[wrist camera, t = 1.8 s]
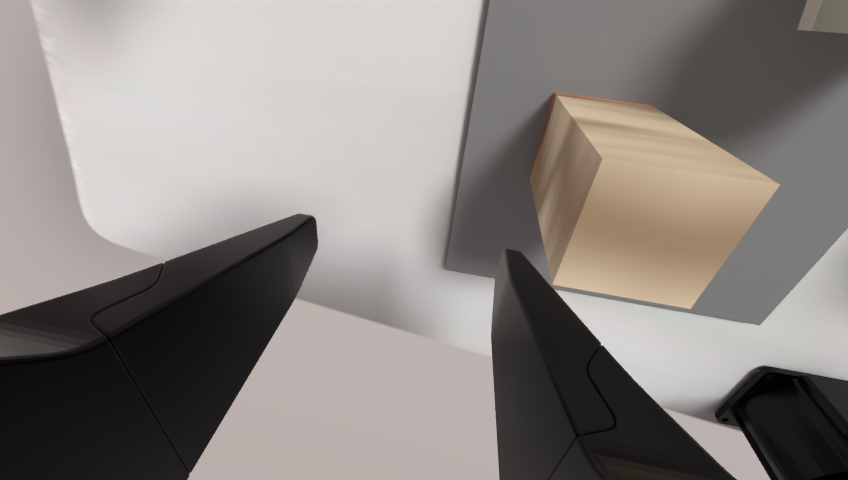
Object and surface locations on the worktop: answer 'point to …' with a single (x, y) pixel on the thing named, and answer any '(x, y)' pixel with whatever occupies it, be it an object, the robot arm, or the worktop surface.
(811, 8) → the sage block
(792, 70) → the mat
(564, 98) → the beech block
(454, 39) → the worktop surface
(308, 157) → the worktop surface
